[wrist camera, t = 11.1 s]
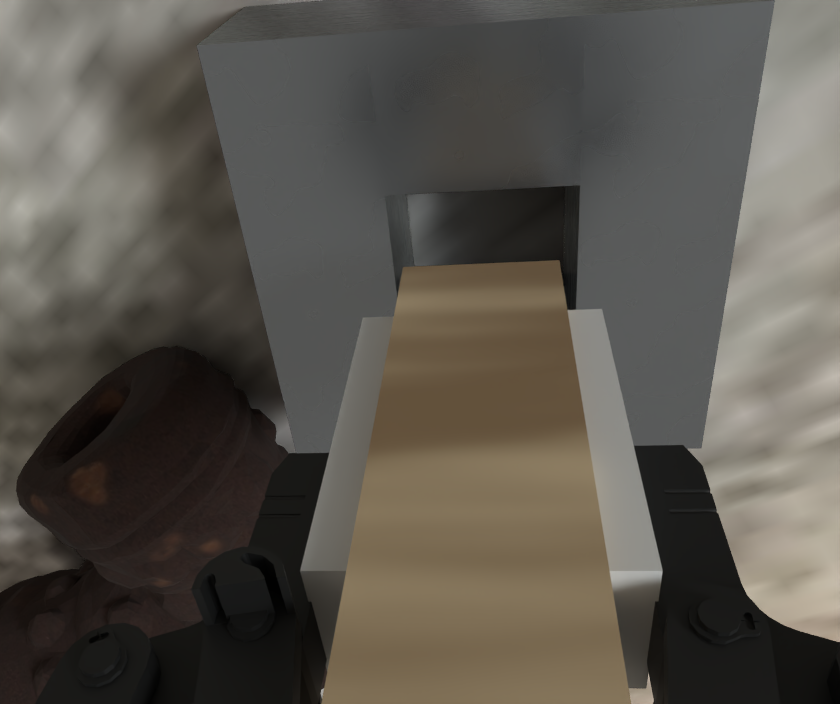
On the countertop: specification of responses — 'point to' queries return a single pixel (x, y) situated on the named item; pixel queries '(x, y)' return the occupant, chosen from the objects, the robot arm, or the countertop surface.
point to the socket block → (492, 169)
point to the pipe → (135, 507)
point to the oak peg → (478, 507)
